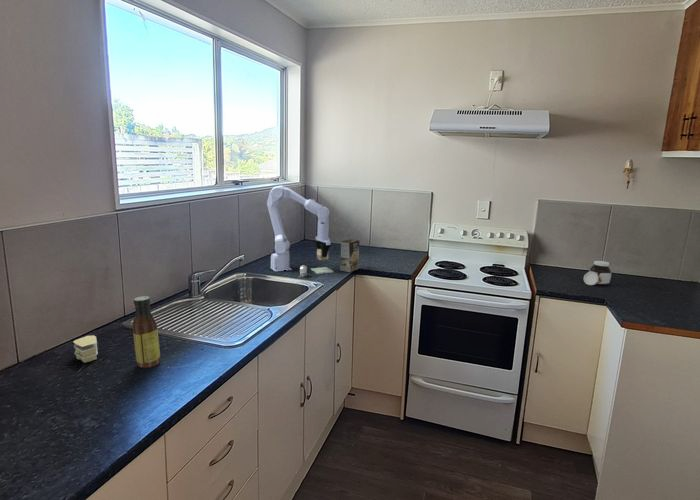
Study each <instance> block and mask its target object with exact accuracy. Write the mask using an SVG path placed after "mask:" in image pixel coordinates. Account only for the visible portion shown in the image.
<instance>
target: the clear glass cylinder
mask: <svg viewBox="0 0 700 500" xmlns="http://www.w3.org/2000/svg"><path fill="white" fill-rule="evenodd" d="M307 275H308V266H306V265H304V266H302V265H300V266H299V277H300V278H307V277H308V276H307Z"/></svg>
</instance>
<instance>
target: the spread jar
mask: <svg viewBox="0 0 700 500" xmlns="http://www.w3.org/2000/svg"><path fill="white" fill-rule="evenodd" d="M611 278H612V270H611V268H610V262H609V261H605V260H594V261H593V264H592V265H591V266H590V267H589V271H588V272H586V273H585V274H584V275H583V282H584V284H585V285H588V286H594V285H595V286H600V287H606V286H607V285H609V284H610V281H611Z"/></svg>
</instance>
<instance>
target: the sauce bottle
mask: <svg viewBox="0 0 700 500" xmlns="http://www.w3.org/2000/svg"><path fill="white" fill-rule="evenodd" d="M150 303H151V298H150V296H148V295H147V296H146V295H145V296H143V295H142V296H138V297H137V296H136V297H134V298H133V305H134V308H135V316H134V318H133V320H132V333H133V334H132V335H133V343H134V352H135V361H136V363H137V367H139V368H142V369H148V368H152V367H155V366H158V365H159V363H160V362H161V350H160V341H159V333H158V325H157V323H156V320H155V319H154V316H153V314H152V312H151V304H150Z"/></svg>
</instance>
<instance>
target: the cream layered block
mask: <svg viewBox="0 0 700 500" xmlns="http://www.w3.org/2000/svg"><path fill="white" fill-rule="evenodd" d="M73 343H74V345H73V348H74V349H75V351H74V355H75V356H76V360H80V361H81V362H83V363H84V364H85V363H89V362H92V361H96V360H97V359H98V357H97V356H98V355H99V353H98V340H97V336H95V335H86V336H83V337H81V338H78V339H75V340H73Z"/></svg>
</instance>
